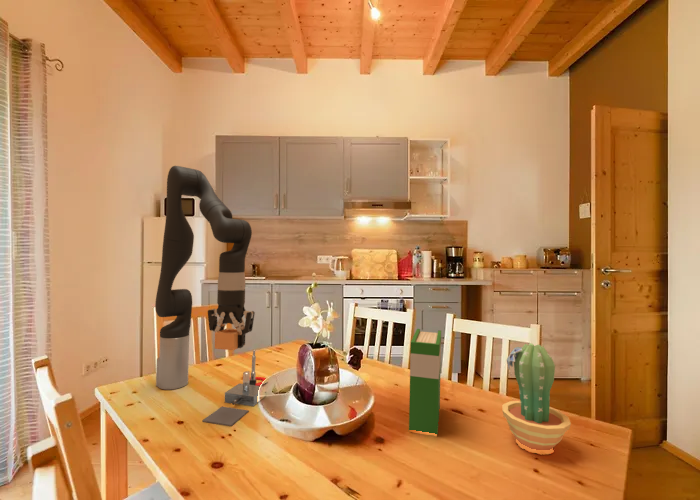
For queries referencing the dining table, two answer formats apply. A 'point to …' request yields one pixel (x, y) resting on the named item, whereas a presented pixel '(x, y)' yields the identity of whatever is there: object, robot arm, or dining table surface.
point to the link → (226, 339)
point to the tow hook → (253, 373)
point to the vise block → (243, 392)
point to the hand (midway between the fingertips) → (230, 346)
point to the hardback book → (425, 381)
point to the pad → (225, 416)
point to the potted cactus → (534, 400)
